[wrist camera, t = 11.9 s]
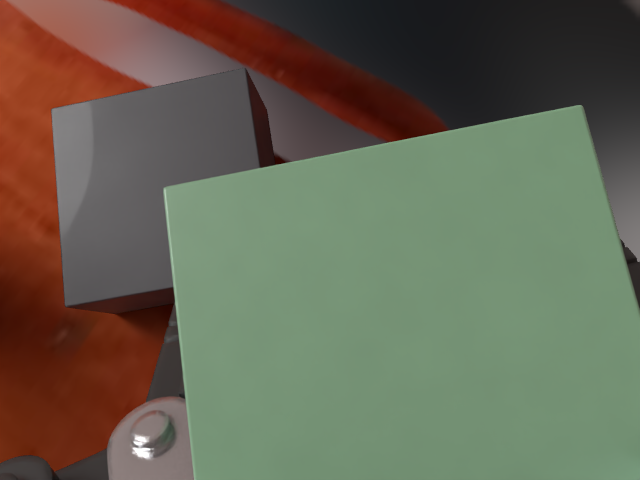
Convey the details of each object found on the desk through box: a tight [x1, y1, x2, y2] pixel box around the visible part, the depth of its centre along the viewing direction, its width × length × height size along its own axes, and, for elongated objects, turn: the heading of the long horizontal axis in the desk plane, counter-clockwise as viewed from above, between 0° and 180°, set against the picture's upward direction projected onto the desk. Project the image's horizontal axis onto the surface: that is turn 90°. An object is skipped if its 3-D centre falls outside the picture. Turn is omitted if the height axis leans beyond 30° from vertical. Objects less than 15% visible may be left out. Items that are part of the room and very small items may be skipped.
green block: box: [163, 105, 640, 480], centre depth 10 cm, size 5×5×8 cm
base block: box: [51, 68, 275, 314], centre depth 30 cm, size 10×10×5 cm
